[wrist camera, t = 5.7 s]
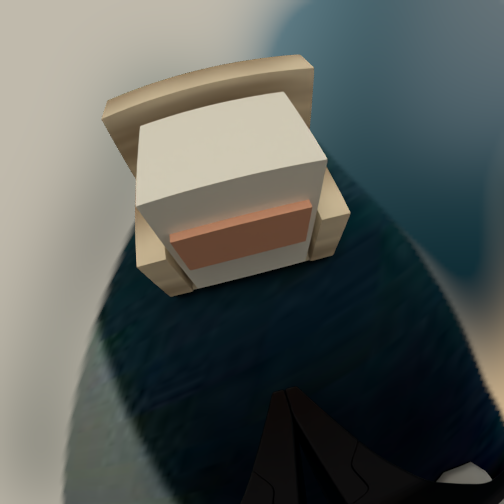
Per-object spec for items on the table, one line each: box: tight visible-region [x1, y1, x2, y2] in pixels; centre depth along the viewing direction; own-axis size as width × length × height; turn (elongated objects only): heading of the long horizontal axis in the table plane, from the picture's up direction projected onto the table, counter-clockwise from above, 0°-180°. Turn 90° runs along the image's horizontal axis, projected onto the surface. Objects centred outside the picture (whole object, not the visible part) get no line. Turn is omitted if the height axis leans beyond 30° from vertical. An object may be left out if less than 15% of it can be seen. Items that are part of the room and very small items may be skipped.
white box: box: [136, 92, 327, 289], centre depth 14 cm, size 5×7×9 cm
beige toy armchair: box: [102, 55, 350, 297], centre depth 15 cm, size 8×11×11 cm
